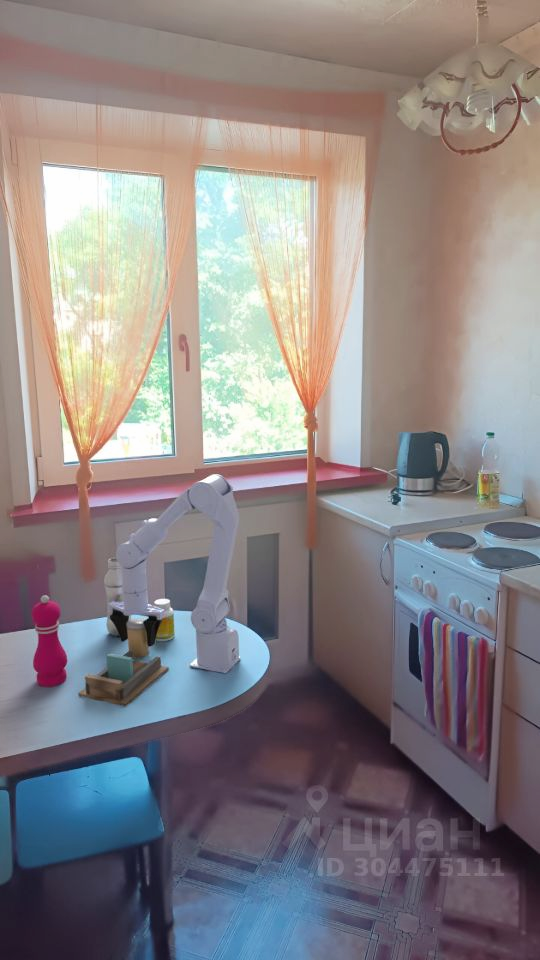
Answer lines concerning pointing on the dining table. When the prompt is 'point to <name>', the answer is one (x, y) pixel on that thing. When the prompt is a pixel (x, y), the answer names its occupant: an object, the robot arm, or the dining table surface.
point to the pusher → (119, 667)
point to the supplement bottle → (165, 621)
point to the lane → (119, 691)
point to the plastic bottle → (113, 590)
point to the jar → (137, 638)
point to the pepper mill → (48, 644)
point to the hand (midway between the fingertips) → (138, 642)
